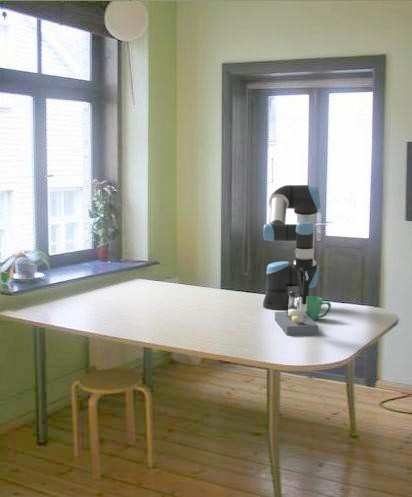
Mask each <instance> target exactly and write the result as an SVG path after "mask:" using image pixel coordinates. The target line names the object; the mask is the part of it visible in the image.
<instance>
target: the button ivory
mask: <svg viewBox="0 0 412 497" xmlns="http://www.w3.org/2000/svg"><path fill="white" fill-rule="evenodd" d="M287 311H288V318H292V316H297V308H294V309H289V310H288V309H287Z"/></svg>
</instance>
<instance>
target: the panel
mask: <svg viewBox="0 0 412 497" xmlns="http://www.w3.org/2000/svg"><path fill="white" fill-rule="evenodd" d="M303 320H304V322H292V318H288V310H287V311H275V312H274V321H275V322H276V324H277V325H278V326H279V327H280V328H281V330H282V331H283V332H284V334H285V335H286V336H309V335H311V336H312V335H313V336H315V335H316V334H317V335H319V325H318V324H317V323H316V322H315V320H312V319H311V318H310V317H309V316H308V315H307V314H306V313H305V312H304V311H303Z"/></svg>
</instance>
